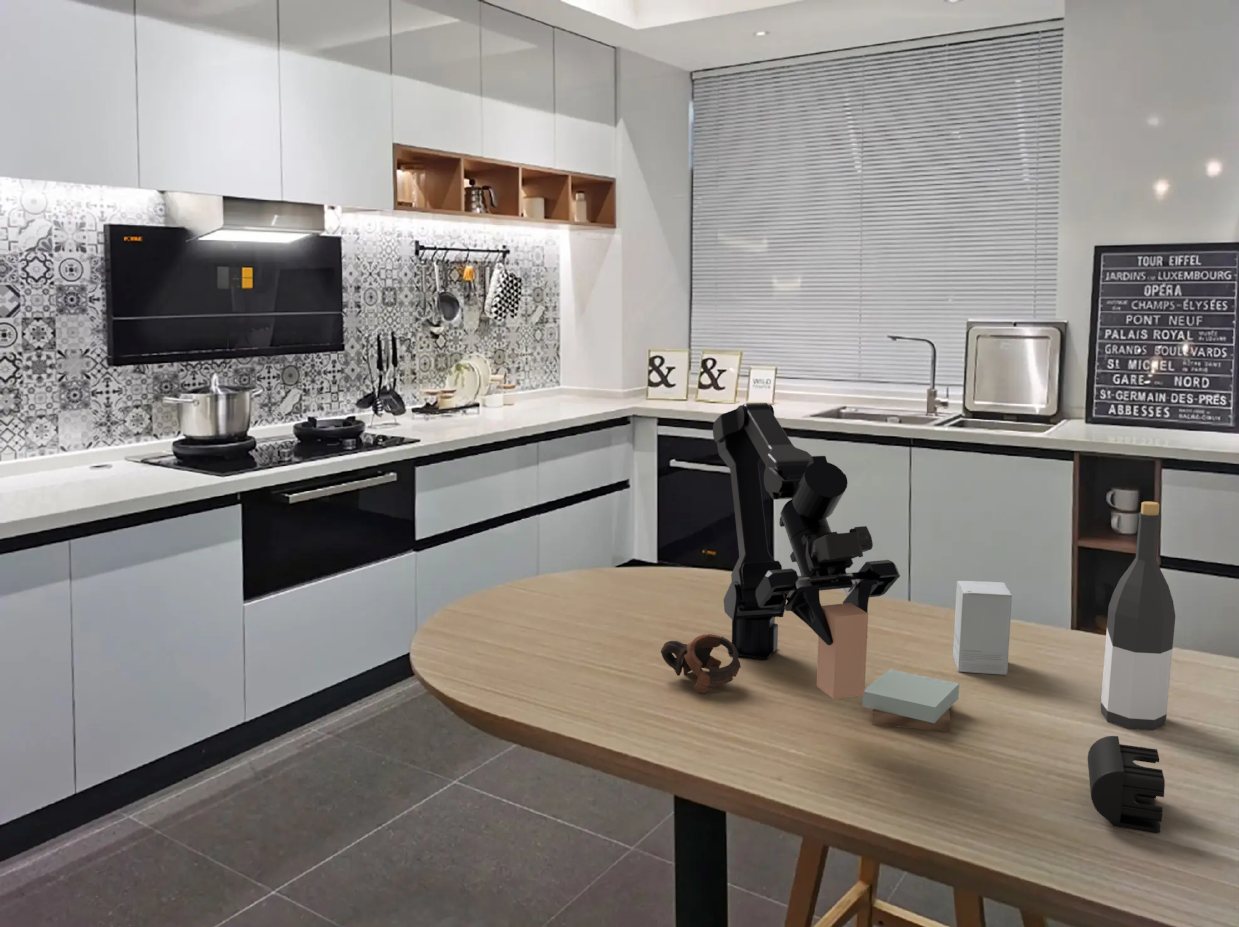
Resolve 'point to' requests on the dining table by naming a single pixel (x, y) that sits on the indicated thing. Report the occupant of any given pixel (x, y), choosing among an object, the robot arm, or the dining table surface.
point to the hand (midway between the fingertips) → (847, 642)
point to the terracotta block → (843, 652)
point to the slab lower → (910, 721)
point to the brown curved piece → (702, 660)
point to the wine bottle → (1139, 637)
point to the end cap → (1125, 784)
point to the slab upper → (911, 695)
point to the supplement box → (982, 627)
